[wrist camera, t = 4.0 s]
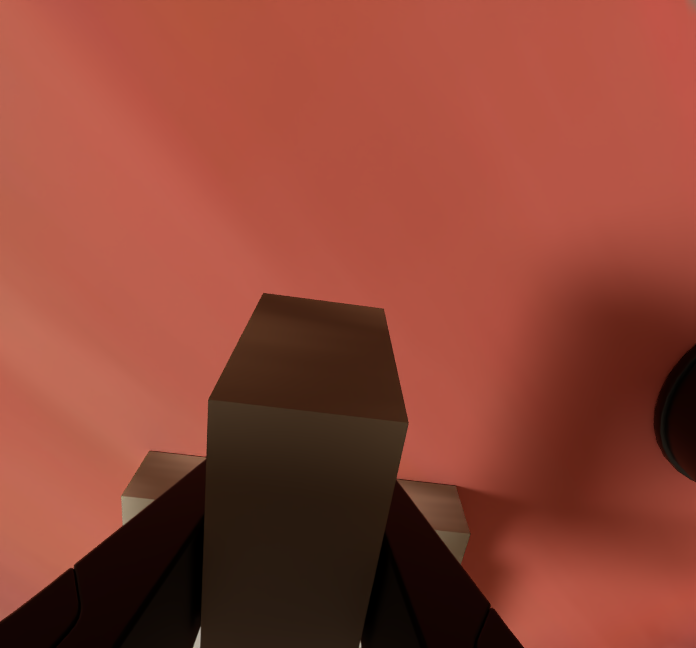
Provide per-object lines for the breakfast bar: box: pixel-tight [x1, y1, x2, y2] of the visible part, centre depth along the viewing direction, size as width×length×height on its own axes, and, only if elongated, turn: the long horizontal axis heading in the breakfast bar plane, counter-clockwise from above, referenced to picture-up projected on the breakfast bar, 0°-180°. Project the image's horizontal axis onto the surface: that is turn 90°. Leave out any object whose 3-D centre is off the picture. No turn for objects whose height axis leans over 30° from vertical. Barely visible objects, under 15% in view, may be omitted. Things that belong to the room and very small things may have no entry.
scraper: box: [200, 293, 409, 648], centre depth 10 cm, size 14×14×4 cm
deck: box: [121, 451, 470, 565], centre depth 24 cm, size 15×11×3 cm
